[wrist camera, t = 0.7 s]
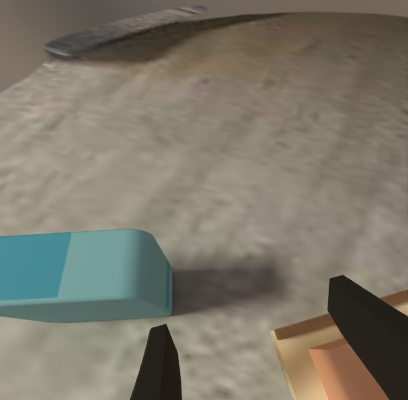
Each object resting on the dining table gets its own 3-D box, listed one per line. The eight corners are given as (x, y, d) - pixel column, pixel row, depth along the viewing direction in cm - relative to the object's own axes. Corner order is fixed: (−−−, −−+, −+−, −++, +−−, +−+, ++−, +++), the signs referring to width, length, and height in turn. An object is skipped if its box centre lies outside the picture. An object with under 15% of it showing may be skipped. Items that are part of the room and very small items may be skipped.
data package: (174, 271, 27) (149, 226, 17) (174, 316, 25) (144, 297, 15) (64, 277, 27) (-28, 236, 17) (54, 323, 25) (-60, 309, 15)
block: (387, 396, 20) (430, 410, 16) (334, 415, 19) (364, 433, 15) (356, 333, 22) (386, 331, 18) (308, 348, 21) (328, 350, 18)
